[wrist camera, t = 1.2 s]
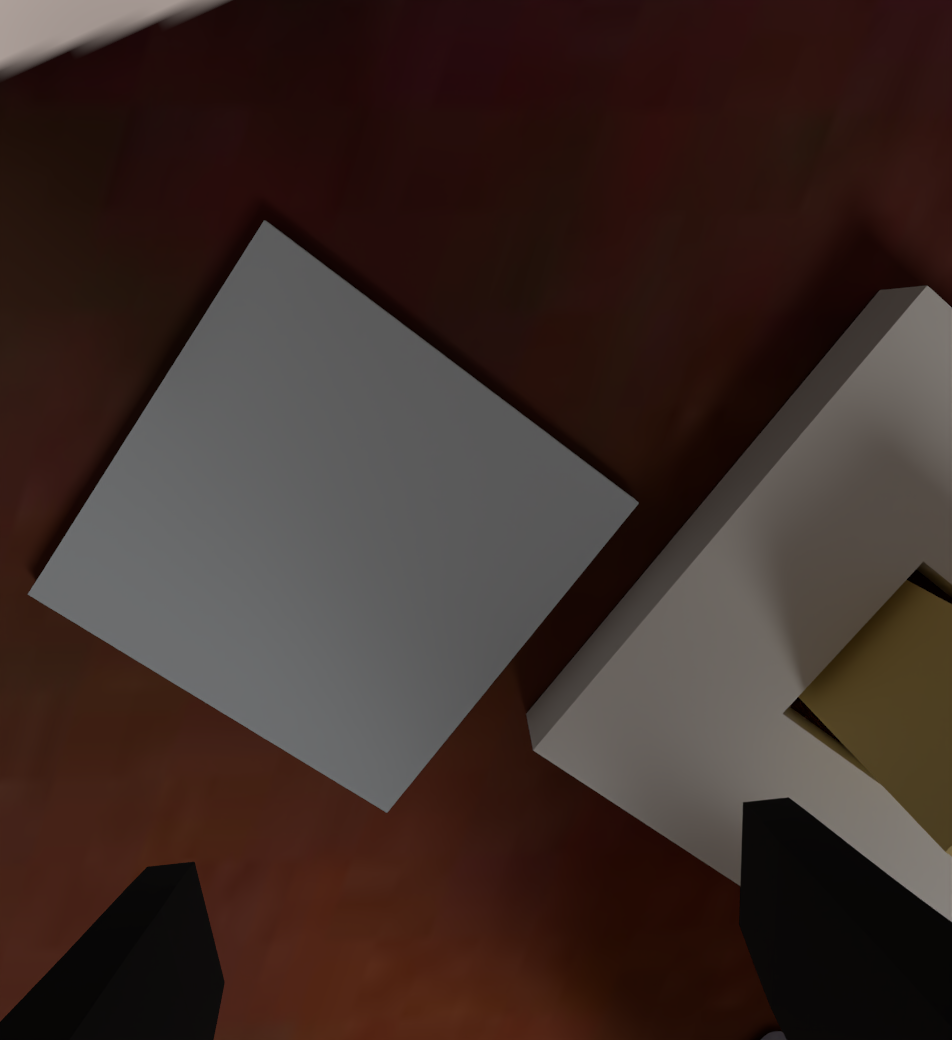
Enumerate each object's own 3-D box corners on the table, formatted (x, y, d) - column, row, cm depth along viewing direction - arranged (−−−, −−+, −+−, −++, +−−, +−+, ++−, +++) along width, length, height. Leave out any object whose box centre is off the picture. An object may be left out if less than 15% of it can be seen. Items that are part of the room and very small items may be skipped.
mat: (634, 498, 18) (639, 503, 18) (388, 801, 21) (387, 812, 20) (269, 223, 17) (264, 220, 16) (38, 587, 19) (27, 594, 18)
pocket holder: (1238, 609, 20) (1313, 635, 18) (881, 949, 22) (917, 1001, 21) (879, 290, 17) (927, 285, 16) (526, 713, 20) (533, 750, 18)
